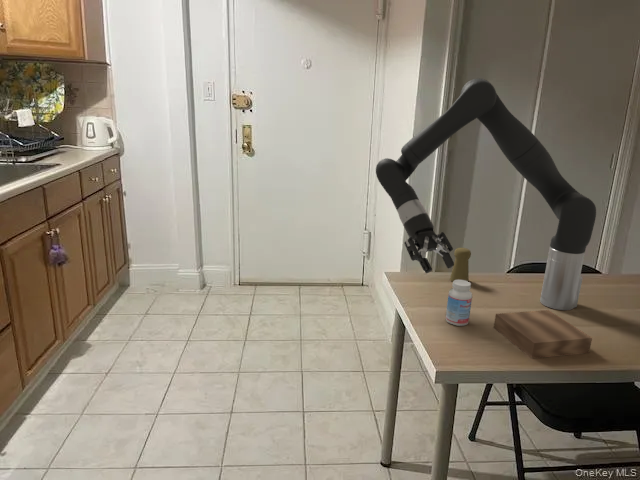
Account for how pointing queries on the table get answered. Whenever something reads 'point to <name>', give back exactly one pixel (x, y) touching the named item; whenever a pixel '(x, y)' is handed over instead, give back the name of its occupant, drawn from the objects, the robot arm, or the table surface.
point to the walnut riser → (542, 333)
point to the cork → (461, 265)
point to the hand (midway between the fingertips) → (440, 269)
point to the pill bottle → (459, 303)
